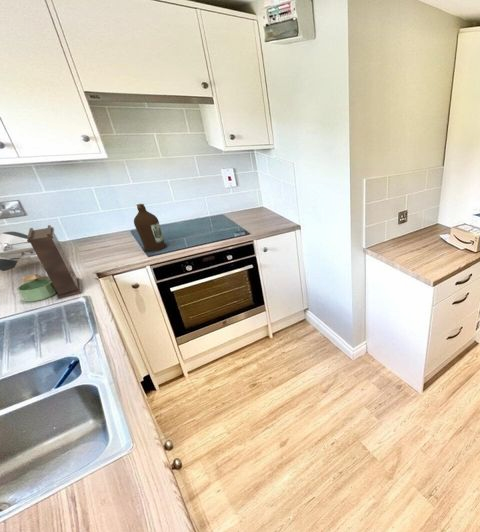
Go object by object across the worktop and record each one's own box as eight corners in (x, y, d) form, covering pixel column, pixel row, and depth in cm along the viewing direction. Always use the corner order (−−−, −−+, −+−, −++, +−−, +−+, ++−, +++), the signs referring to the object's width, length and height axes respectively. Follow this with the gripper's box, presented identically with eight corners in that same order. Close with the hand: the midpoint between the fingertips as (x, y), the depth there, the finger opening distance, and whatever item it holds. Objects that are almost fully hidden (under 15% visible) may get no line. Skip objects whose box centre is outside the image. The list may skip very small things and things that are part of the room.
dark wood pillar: (58, 299, 133) (25, 238, 120) (59, 285, 142) (28, 227, 130) (81, 293, 137) (51, 234, 125) (80, 279, 147) (52, 224, 134)
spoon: (24, 282, 129) (21, 277, 128) (38, 279, 147) (36, 275, 146) (36, 278, 131) (34, 274, 130) (49, 277, 149) (47, 273, 148)
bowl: (22, 305, 128) (15, 293, 126) (24, 294, 135) (18, 283, 132) (58, 296, 135) (52, 285, 132) (59, 286, 141) (53, 275, 139)
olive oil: (139, 252, 174) (122, 207, 163) (151, 244, 183) (135, 201, 172) (160, 251, 175) (144, 207, 163) (170, 244, 184) (156, 201, 173)
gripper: (65, 249, 154) (58, 244, 143) (1, 260, 141) (-12, 255, 130) (60, 237, 153) (53, 230, 143) (-4, 247, 141) (-18, 240, 130)
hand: (21, 242), depth 136 cm, fingers open, 8 cm apart
